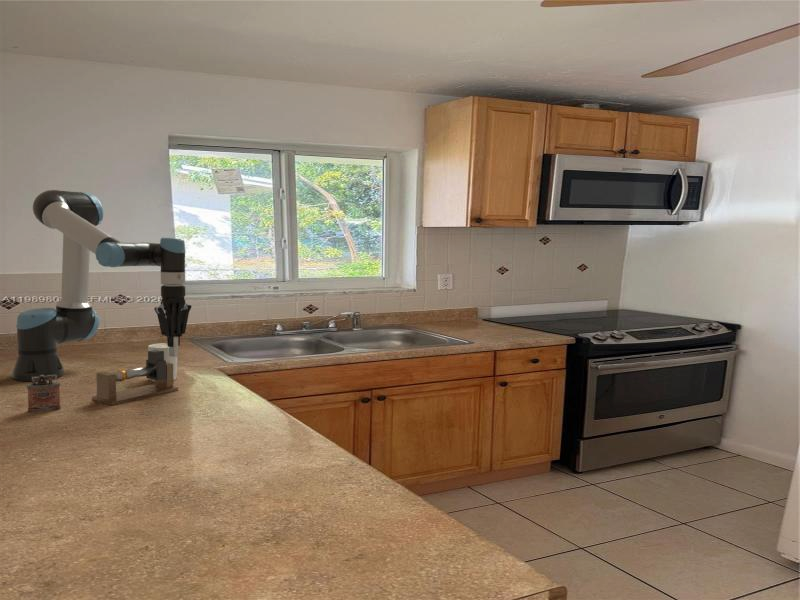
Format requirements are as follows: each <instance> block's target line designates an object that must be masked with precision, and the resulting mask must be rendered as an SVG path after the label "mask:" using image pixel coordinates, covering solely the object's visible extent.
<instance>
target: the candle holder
mask: <svg viewBox="0 0 800 600" xmlns="http://www.w3.org/2000/svg"><path fill="white" fill-rule="evenodd" d="M147 348H148V351H151V350H160V351H164V360H165V361H166V362H167V363H172V364H173V381H175V380H176V379H177V374H178V373H177V372H178V357H179V355H178V356H177V357H172V356H169V347H168V345H167V342H163V343H162V342H161V343H160V342H159V343H153V344H149V345H148V346H147ZM150 380H151V381H152V382H155V380H152V379H150Z"/></svg>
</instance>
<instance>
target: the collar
mask: <svg viewBox="0 0 800 600" xmlns="http://www.w3.org/2000/svg"><path fill="white" fill-rule="evenodd" d="M152 365H156V374H155V375H149V376H145V378H146V379H148V380H151V379H152V380H157V381H159V380H164V379H166V361H165V360H164V351H160V350H151V351H149V350H148V351H147V359H146V360H145V367H146V366H152ZM152 380H151V381H152Z"/></svg>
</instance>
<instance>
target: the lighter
mask: <svg viewBox="0 0 800 600" xmlns="http://www.w3.org/2000/svg"><path fill="white" fill-rule="evenodd" d="M53 380H54V381H56V380H58V377H57V375H47V376H44V375H40V376H39V377H32V381H31V383H29V384H27V385H26V388H27V403H28V405H27V406H28V407H27V412H28V413H44V412H53V411H59V410H61V409H62V406H61V397H60V395H61V391H60V386H61V383H60V382H58V381H57V382H53Z"/></svg>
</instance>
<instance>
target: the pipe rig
mask: <svg viewBox="0 0 800 600" xmlns="http://www.w3.org/2000/svg"><path fill="white" fill-rule="evenodd" d="M95 374H96V395H94V396H92V397H91V400H92V401H95V402H98V403H102V404H105V405H109V406H116V405H122V404H126V403H128V402H134V401H138V400H142V399H145V398H146V399H147V398H151V397H155V396H160V395H165V394H168V393H173V392H177V391H179V386H178V387H177V386H174V380H173V364H172V363H167V362H166V379H164V380H159V381H157V380H155V381H154V382H155V383H153V384H148V385H141V386H137V387H134V388H128V389H123V390H118V391H117V382H118V383H122V382H126V381H128V380H134V379H138V378H145V377H146V376H149V375H155V374H156V365H152V366H146V365H145V366H142V367H141V366H140V367H137V368H131V369H125V370H124V369H121V370H117V371H114V372H109V371H99V372H96V373H95Z"/></svg>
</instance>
